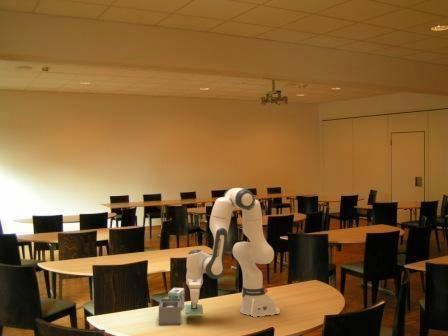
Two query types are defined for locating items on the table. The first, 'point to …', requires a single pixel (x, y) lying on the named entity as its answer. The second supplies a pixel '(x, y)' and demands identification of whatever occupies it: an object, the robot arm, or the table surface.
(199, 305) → the lid
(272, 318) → the table surface
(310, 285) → the table surface
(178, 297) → the light bulb box
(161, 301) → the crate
